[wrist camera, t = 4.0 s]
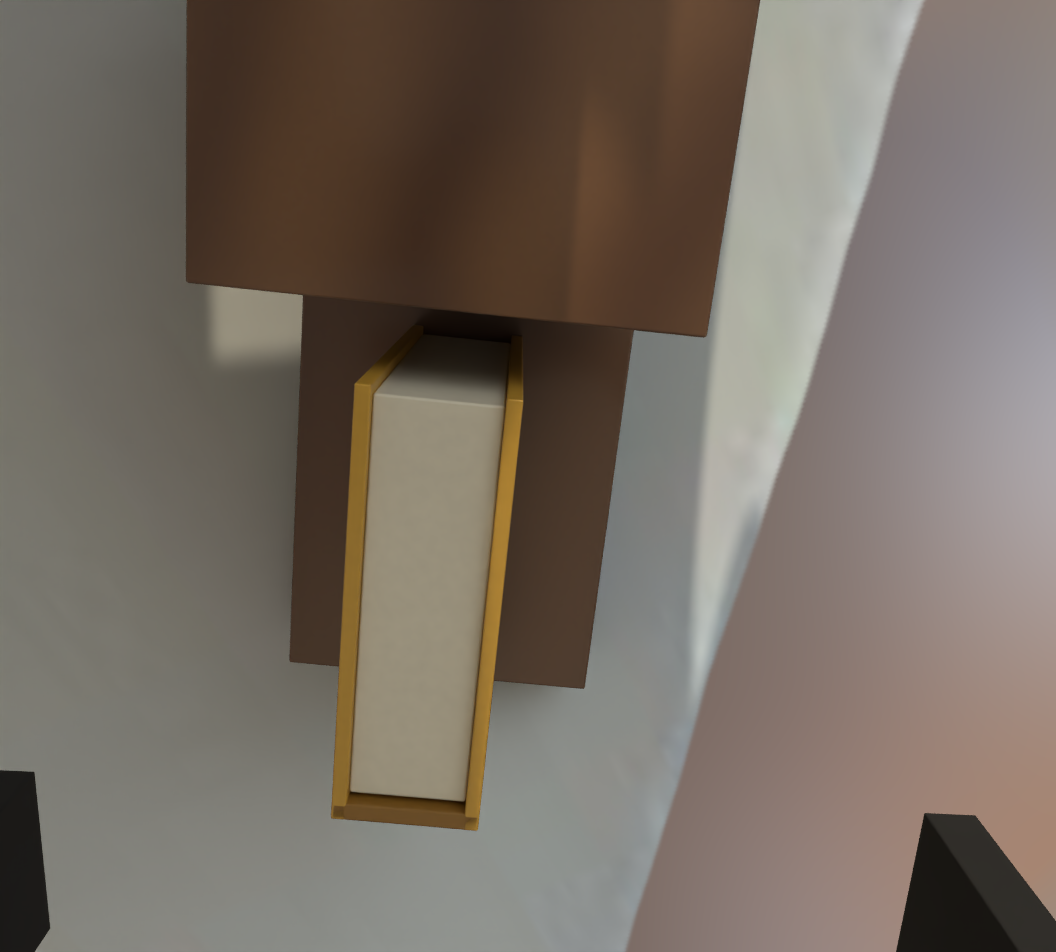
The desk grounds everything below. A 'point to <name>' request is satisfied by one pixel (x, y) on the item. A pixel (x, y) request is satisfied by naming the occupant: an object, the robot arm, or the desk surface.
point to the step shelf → (469, 237)
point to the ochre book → (425, 577)
